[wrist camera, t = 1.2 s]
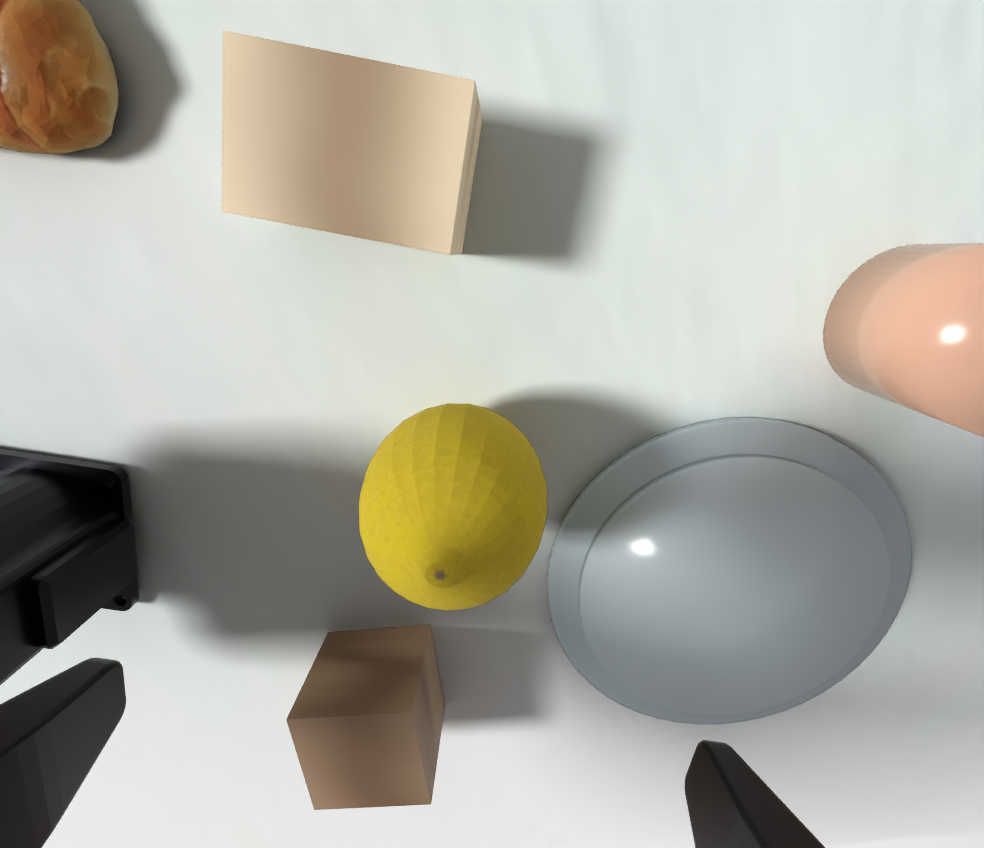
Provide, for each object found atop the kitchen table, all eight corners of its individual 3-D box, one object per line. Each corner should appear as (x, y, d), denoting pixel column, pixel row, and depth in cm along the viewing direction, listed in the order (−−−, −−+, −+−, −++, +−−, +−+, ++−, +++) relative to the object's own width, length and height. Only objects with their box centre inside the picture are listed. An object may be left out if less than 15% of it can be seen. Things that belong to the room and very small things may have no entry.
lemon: (567, 465, 19) (606, 602, 12) (451, 538, 21) (419, 705, 13) (481, 347, 18) (463, 416, 10) (362, 432, 19) (268, 550, 12)
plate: (520, 689, 23) (521, 711, 22) (586, 389, 18) (591, 398, 17) (825, 732, 23) (841, 756, 22) (961, 447, 19) (991, 460, 18)
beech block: (285, 220, 17) (221, 211, 13) (291, 83, 16) (223, 30, 12) (462, 254, 17) (449, 254, 13) (482, 121, 16) (474, 80, 12)
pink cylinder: (802, 381, 18) (906, 426, 13) (855, 232, 17) (994, 225, 12) (938, 402, 18) (1089, 454, 14) (1004, 257, 17) (1200, 259, 12)
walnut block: (349, 709, 24) (314, 809, 19) (328, 630, 22) (286, 719, 18) (445, 703, 23) (430, 804, 19) (430, 623, 22) (411, 712, 18)
